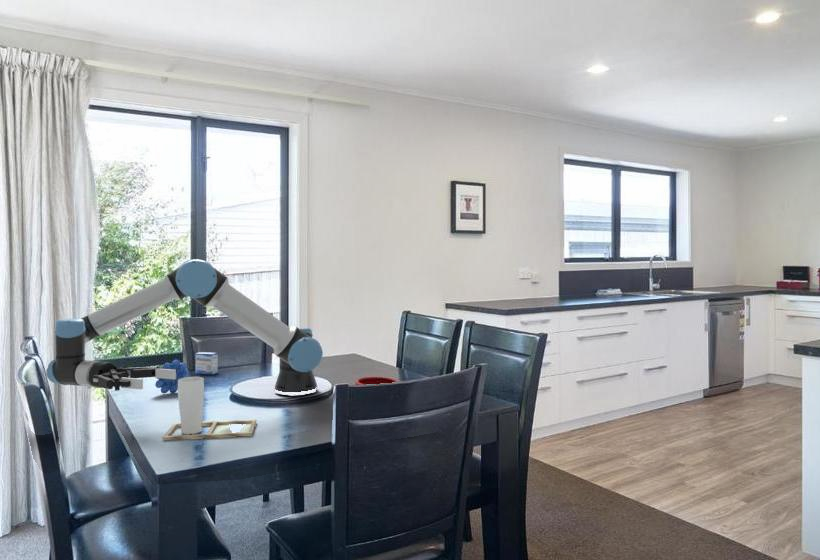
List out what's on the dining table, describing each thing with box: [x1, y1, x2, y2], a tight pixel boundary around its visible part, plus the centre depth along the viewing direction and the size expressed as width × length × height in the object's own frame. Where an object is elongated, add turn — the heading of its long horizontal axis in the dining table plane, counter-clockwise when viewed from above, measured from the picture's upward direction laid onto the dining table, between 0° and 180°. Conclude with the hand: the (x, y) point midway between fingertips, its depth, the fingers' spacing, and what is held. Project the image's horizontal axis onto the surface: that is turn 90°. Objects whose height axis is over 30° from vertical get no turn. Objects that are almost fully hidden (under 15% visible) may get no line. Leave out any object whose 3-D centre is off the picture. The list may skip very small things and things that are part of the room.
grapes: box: [154, 359, 190, 394], centre depth 205 cm, size 12×7×12 cm, turn 126°
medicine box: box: [195, 351, 219, 375], centre depth 240 cm, size 8×4×9 cm, turn 80°
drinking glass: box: [177, 376, 205, 435], centre depth 159 cm, size 7×7×15 cm
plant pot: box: [354, 376, 399, 386], centre depth 172 cm, size 13×13×12 cm
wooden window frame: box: [162, 418, 258, 441], centre depth 160 cm, size 23×13×1 cm, turn 100°
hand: (159, 379), depth 161 cm, fingers open, 13 cm apart
